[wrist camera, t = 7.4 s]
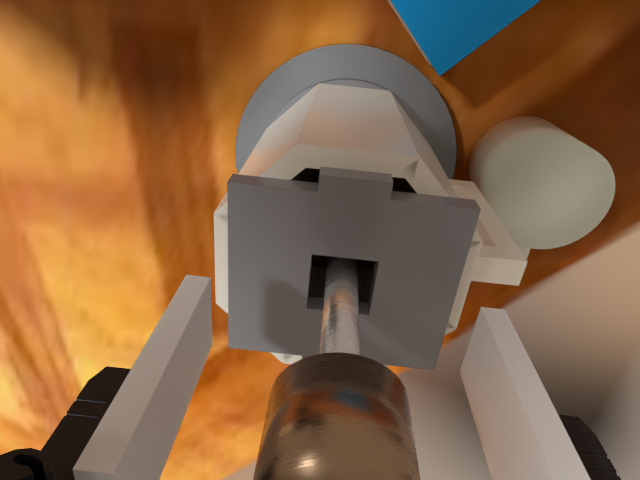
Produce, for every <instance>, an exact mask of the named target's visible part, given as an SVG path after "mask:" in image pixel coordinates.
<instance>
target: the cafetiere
mask: <svg viewBox="0 0 640 480" xmlns="http://www.w3.org/2000/svg"><path fill="white" fill-rule="evenodd" d="M214 245H215V288H216V302H217V303H216V304H218V305H219V306H220V307H221V308H222V309H223V310H224V311H225V312H226V313H228V336H229V348H236V349H245V350H254V351H263V352H271V353H272V354H273V355H274V356H275V357H276V358H277V359H278V360H280V361H281V362H283V363H286V364H293V363H295V362H297V361H299V360H301V359H303V358H306V357H308V356H312V355H316V354H320V342H321V330H322V318H323V305H324V293H325V281H326V268H327V256H332V257H341V258H351V259H357V276H358V307H359V338H360V355H361V356H364V357H367V358H370V359H373V360H375V361H377V362H379V363H381V364H383V365H384V366H386V367H388V366H389V365H391V366H401V367H410V368H420V369H428V370H434V369H435V366H436V362H437V359H438V355H439V352H440V349H441V345H442V342H443V338H444V336H445V335H446V334H448V333H450V332H452V331H454V330H456V329H457V326H458V322H459V319H460V316H461V312H462V309H463V306H464V303H465V299H466V296H467V293H468V289H469V286H470V283H471V281H478V282H487V283H496V284H505V285H515V286H519V284H520V281H521V279H522V276H523V273H524V270H525V268H526V265H527V262H528V261H527V260H526V258H525V257H524V255H523V254H522V252H521V251H520V249H519V248H518V246H517V245H516V243H515V242H514V241H513V239H512V238H511V236H510V235H509V233H508V232H507V230H506V229H505V227H504V226H503V224H502V223H501V221H500V220H499V218H498V217H497V216H496V214H495V213H494V211H493V210H492V208H491V207H490V205H489V204H488V202H487V201H486V199H485V198H484V196H483V195H482V193H481V192H480V191H479V189H478V188H477V186H476V185H475V183H474V182H472V181H463V180H453V179H448V177H447V176H446V174H445V172H444V170H443V168H442V166H441V165H440V163H439V161H438V159H437V157H436V156H435V154H434V152H433V150H432V148H431V147H430V145H429V143H428V142H427V140H426V136H425V133H424V131H423V129H422V127H421V125H420V123H419V121H418V119H417V118H416V116H415V115H414V113H413V111H412V110H411V109H410V108H409V107H408V105H407V104H406V103H405V102H404V101H403V100H402V99H400V98H399V97H398V96H397V95H396V94H394V93H393V92H391V91H390V90H388V89H386V88H384V87H382V86H380V85H378V84H375V83H372V82H369V81H366V80H360V79H352V78H340V79H331V80H327V81H323V82H319V83H317V84H314V85H312V86H309V87H307V88H306V89H304V90H302V91H300V92H299V93H298V94H296V95H295V96H294V97H292V98H291V99H290V100H289V101H288V102H287V103H286V104H285V105H284V106H283V107H282V108H281V110H280V111H279V112H278V114H277V115H276V116H275V118H274V120H273V121H272V123H271V125H270V126H269V127H267V129H266V130H265V132H264V134H263V135H262V137H261V138H260V140H259V142H258V143H257V145H256V146H255V148H254V149H253V151H252V153H251V154H250V156H249V157H248V159H247V161H246V162H245V164H244V165H243V167H242V169H241V170H240V172H239V173H238V174H232V176H231V177H230V179H229V180H228V182H227V193H226V194H225V196H224V197H223V199H222V201H221V202H220V204H219V205H218V207H217V209H216V210H215V212H214ZM455 328H456V329H455Z"/></svg>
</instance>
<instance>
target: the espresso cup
mask: <svg viewBox="0 0 640 480" xmlns="http://www.w3.org/2000/svg"><path fill="white" fill-rule="evenodd" d="M469 177H470V181H472V182H474V183H475V185H476V186H477V188H478V189H479V191H480V192H481V193H482V195H483V196H484V198H485V199H486V201H487V202H488V204H489V205H490V207H491V208H492V210H493V211H494V213H495V214H496V216H497V217H498V218H499V220H500V221H501V223H502V224H503V226H504V227H505V229H506V230H507V232H508V233H509V235H510V236H511V238H512V239H513V241H514V242H515V243H516V245H517V246H518V248H519V249H520V251H521V252H522V254H523V255H524V257H525V258H526V259H527V257H528V255H529V252H530V249H531V248H533V249H552V248H558V247H562V246H565V245H568V244H570V243H573V242H575V241H577V240H579V239H581V238H582V237H584V236H585V235H587V234H588V233H589V232H591V231H592V230H593V229H594V228H595V227H596V226H597V225H598V224H599V223H600V222H601V221H602V220H603V218H604V217H605V215H606V214H607V212H608V210H609V208H610V207H611V204H612V201H613V199H614V194H615V176H614V173H613V170H612V168H611V166H610V164H609V163H608V161H607V160H606V159H605V158H604V157H603V156H602V155H601V154H600V153H598V152H597V151H596V150H594V149H592V148H591V147H589V146H588V145H586V144H584V143H583V142H581V141H579V140H578V139H576V138H575V137H573V136H571V135H570V134H568V133H566V132H565V131H563V130H562V129H560V128H558V127H557V126H555V125H553V124H552V123H550V122H549V121H547V120H545V119H542V118H539V117H535V116H517V117H512V118H509V119H506V120H504V121H502V122H499V123H498V124H496V125H494V126H493V127H492V128H490V129H489V130H488V131H487V132H486V133H485V134H484V135H483V136H482V137H481V138H480V139H479V140H478V142H477V144H476V145H475V147H474V149H473V151H472V154H471V157H470V161H469Z"/></svg>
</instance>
